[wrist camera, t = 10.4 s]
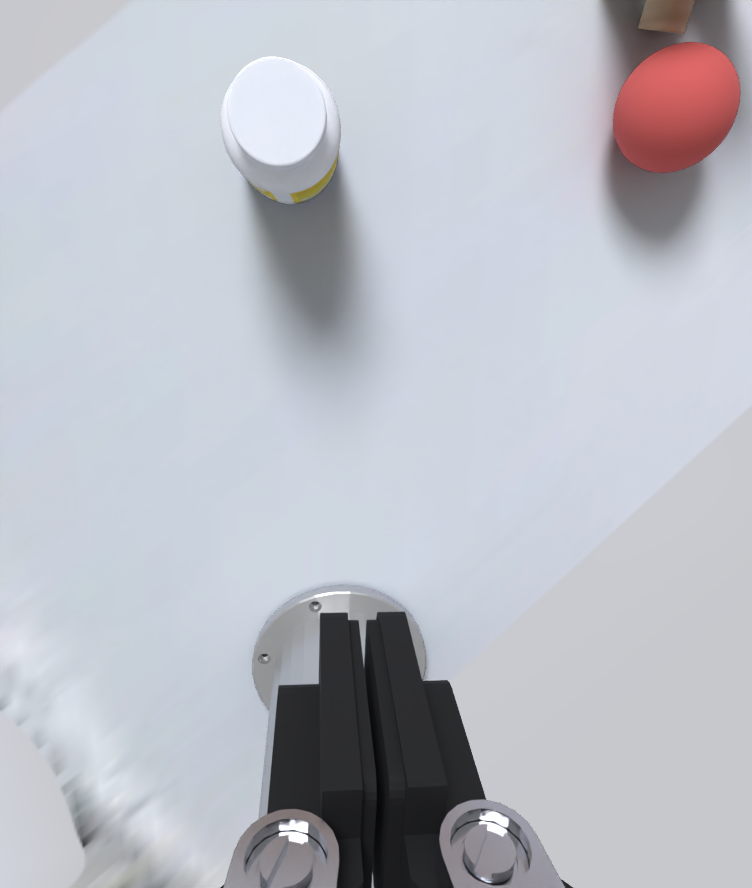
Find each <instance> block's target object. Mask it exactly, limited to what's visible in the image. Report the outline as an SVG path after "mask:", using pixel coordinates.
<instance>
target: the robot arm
mask: <svg viewBox="0 0 752 888" xmlns="http://www.w3.org/2000/svg"><path fill="white" fill-rule="evenodd" d="M313 601H317V602H313ZM425 669H426V651H425V647H424V642H423V638H422V636H421V633H420V630H419V627H418V625H417V624H416V622H415V621H414V619H413V617H412V616H411V615H410V613H409V612H408V611H407V610H406V609H405V608H404V607H403V606H402V605H401V604H399V603H398V602H396V601H395V600H393V599H392V598H390V597H389V596H387V595H385V594H382V593H380V592H378V591H375V590H372V589H368V588H364V587H359V586H346V585H338V586H329V587H322V588H319V589H315V590H312V591H308V592H306V593H304V594H301V595H299V596H297V597H295V598H293V599H291V600H290V601H289V602H287V603H286V604H284V605H283V606H282V607H280V608H279V609H278V610H277V611H276V612H275V613H274V614H273V615H272V616H271V617H270V618H269V619H268V621H267V622H266V624H265V625H264V627H263V628H262V630H261V632H260V634H259V636H258V639H257V642H256V644H255V648H254V654H253V660H252V675H253V680H254V684H255V688H256V690H257V692H258V694H259V696H260V699H261V700H262V702H263V703H264V704H265V706H266V707H267V708H268V709H269V720H268V730H267V739H266V749H265V759H264V769H263V779H262V788H261V798H260V808H259V818H258V820H257V821H256V822H254V823H253V824H251V826H250V827H249V828H248V829H247V830H246V831H245V833H244V834H243V835H242V836H241V837H240V840H239V842H238V844H237V846H236V848H235V850H234V853H233V856H232V860H231V863H230V867H229V870H228V873H227V877H226V880H225V884H224V885H223V886H222V887H221V888H573V887H571V886H570V885H569V884H567V883H566V882H564V881H563V880H561V879H560V877H559V875H558V873H557V872H556V870H555V868H554V866H553V864H552V862H551V860H550V859H549V857H548V855H547V853H546V851H545V849H544V847H543V845H542V844H541V842H540V840H539V838H538V836H537V834H536V833H535V832H534V830H533V829H532V827H531V826H530V824H529V823H528V822H527V821H526V820H525V819H524V818H523V817H521V815H519V814H518V813H517V812H516V811H515V810H513V809H511V808H509V807H507V806H505V805H503V804H501V803H497V802H493V801H489V800H486V798H485V794H484V791H483V788H482V785H481V781H480V778H479V775H478V772H477V768H476V765H475V762H474V759H473V755H472V752H471V749H470V746H469V742H468V739H467V736H466V733H465V729H464V726H463V723H462V720H461V716H460V713H459V710H458V707H457V704H456V700H455V697H454V694H453V690H452V687H451V685H450V683H449V682H448V681H447V680H441V681H423V677H424V673H425Z"/></svg>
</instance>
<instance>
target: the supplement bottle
mask: <svg viewBox="0 0 752 888" xmlns="http://www.w3.org/2000/svg"><path fill="white" fill-rule="evenodd" d="M221 132H222V138H223V142H224V145H225V148H226V151H227V153H228V155H229V157H230V159H231V161H232V162H233V164H234V165H235V167H236V168H237V169H238V170H239V172H240V173H241V174H242V175H243V176H244V177H245V178H246V179H247V180H248V181H249V182H250V183H251V184H252V185H253V186H254V187H255V188H256V189H257V190H258V191H259V192H260V193H262V194H263V195H264V196H266V197H268V198H270V199H272V200H274V201H277V202H280V203H285V204H297V203H302V202H305V201H308V200H310V199H312V198H314V197H316V196H317V195H318V194H320V193H321V192H322V191H323V190H324V189H325V187H326V186H327V185H328V183H329V182H330V180H331V178H332V176H333V174H334V171H335V168H336V164H337V159H338V153H339V147H340V138H341V124H340V117H339V112H338V108H337V105H336V103H335V100H334V98H333V96H332V94H331V92H330V90H329V89H328V87H327V86H326V85H325V83H324V82H323V81H322V80H321V79H320V78H319V77H318V76H317V75H316V74H315V73H314V72H312V71H311V70H310V69H308V68H306V67H305V66H303V65H301V64H298V63H296V62H294V61H292V60H289V59H286V58H282V57H264V58H260V59H257V60H255V61H253V62H251V63H250V64H248V65H247V66H245V67H244V68H243V69H242V70H241V71H240V72H239V74H238V75H237V76H236V78H235V79H234V81H233V82H232V83H231V85H230V87H229V88H228V90H227V93H226V95H225V97H224V101H223V104H222V109H221Z"/></svg>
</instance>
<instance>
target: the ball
mask: <svg viewBox="0 0 752 888" xmlns="http://www.w3.org/2000/svg"><path fill="white" fill-rule="evenodd" d="M739 103H740V84H739V78H738V75H737V72H736V70H735V68H734V66H733V64H732V63H731V61H730V60H729V59H728V57H727V56H726V55H725V54H723V53H722V52H721V51H719V50H718V49H716V48H714V47H712V46H710V45H707V44H703V43H696V42H685V43H678V44H674V45H671V46H668V47H665V48H663V49H661V50H659V51H657V52H655V53H653V54H652V55H650V56H649V57H648V58H646V59H645V60H644V61H643V62H642V63H640V64H639V65H638V66H637V67H636V68H635V70H634V71H633V72H632V73H631V74H630V76H629V77H628V78H627V80H626V81H625V83H624V85H623V87H622V88H621V91H620V93H619V95H618V98H617V101H616V104H615V108H614V114H613V130H614V135H615V139H616V142H617V145H618V147H619V148H620V150H621V152H622V153H623V155H624V156H625V157H626V158H627V159H628V160H629V161H630V162H631V163H633V164H634V165H636V166H637V167H639V168H642V169H644V170H647V171H651V172H658V173H666V172H675V171H678V170H682V169H685V168H687V167H690V166H692V165H694V164H696V163H698V162H699V161H701V160H703V159H704V158H705V157H707V156H708V155H709V154H710V153H712V152H713V151H714V150H715V149H716V148H717V147H718V146H719V145H720V143H721V142H722V141H723V140H724V138H725V137H726V135H727V134H728V132H729V131H730V129H731V127H732V125H733V123H734V120H735V118H736V115H737V112H738V108H739Z"/></svg>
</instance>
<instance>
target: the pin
mask: <svg viewBox="0 0 752 888" xmlns="http://www.w3.org/2000/svg"><path fill="white" fill-rule="evenodd" d="M694 3H695V0H646V2H645V5H644V8H643V12H642V15H641V18H640V22H639V25H638V29H645V30H653V31H661V32H670V33H679V34H684V33H685V30H686V27H687V24H688V21H689V18H690V15H691V12H692V9H693V6H694Z"/></svg>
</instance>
